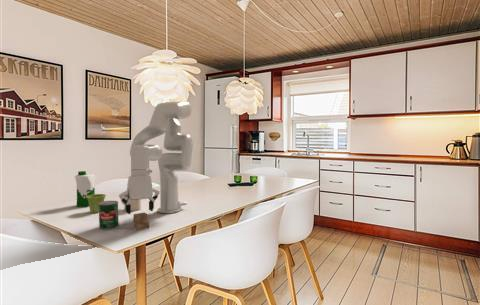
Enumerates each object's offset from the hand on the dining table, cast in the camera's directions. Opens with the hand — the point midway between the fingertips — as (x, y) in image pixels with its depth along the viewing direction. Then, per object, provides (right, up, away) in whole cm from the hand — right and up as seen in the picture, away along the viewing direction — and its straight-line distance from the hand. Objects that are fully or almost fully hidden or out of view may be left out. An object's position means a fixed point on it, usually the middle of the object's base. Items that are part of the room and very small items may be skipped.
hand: (140, 212), depth 123 cm
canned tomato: (-15, -7, +2) cm, 17 cm away
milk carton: (-47, -5, +42) cm, 63 cm away
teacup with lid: (-17, -6, +33) cm, 38 cm away
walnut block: (0, -7, +1) cm, 7 cm away
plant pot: (-33, -6, +28) cm, 44 cm away
